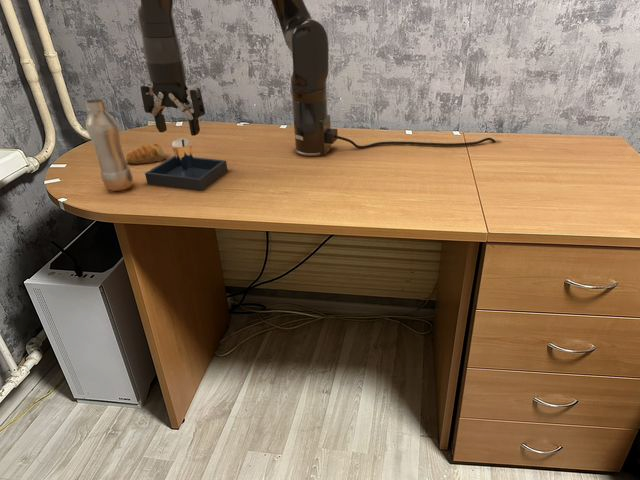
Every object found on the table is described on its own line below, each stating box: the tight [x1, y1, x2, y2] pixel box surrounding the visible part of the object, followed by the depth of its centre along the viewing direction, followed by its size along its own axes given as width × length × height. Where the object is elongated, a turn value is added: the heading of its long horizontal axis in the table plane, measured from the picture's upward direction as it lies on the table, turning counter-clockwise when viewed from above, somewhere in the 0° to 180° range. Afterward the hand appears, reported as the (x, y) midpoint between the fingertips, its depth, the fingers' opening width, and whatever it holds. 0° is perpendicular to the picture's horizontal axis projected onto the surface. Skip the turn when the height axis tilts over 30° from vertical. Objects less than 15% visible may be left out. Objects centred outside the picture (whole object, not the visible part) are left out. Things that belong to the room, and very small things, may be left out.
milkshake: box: [171, 137, 195, 177], centre depth 116 cm, size 4×5×10 cm
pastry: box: [125, 142, 166, 165], centre depth 128 cm, size 9×7×4 cm
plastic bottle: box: [85, 98, 134, 191], centre depth 108 cm, size 6×7×20 cm
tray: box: [144, 155, 229, 192], centre depth 118 cm, size 15×13×3 cm
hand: (178, 133), depth 113 cm, fingers open, 8 cm apart
